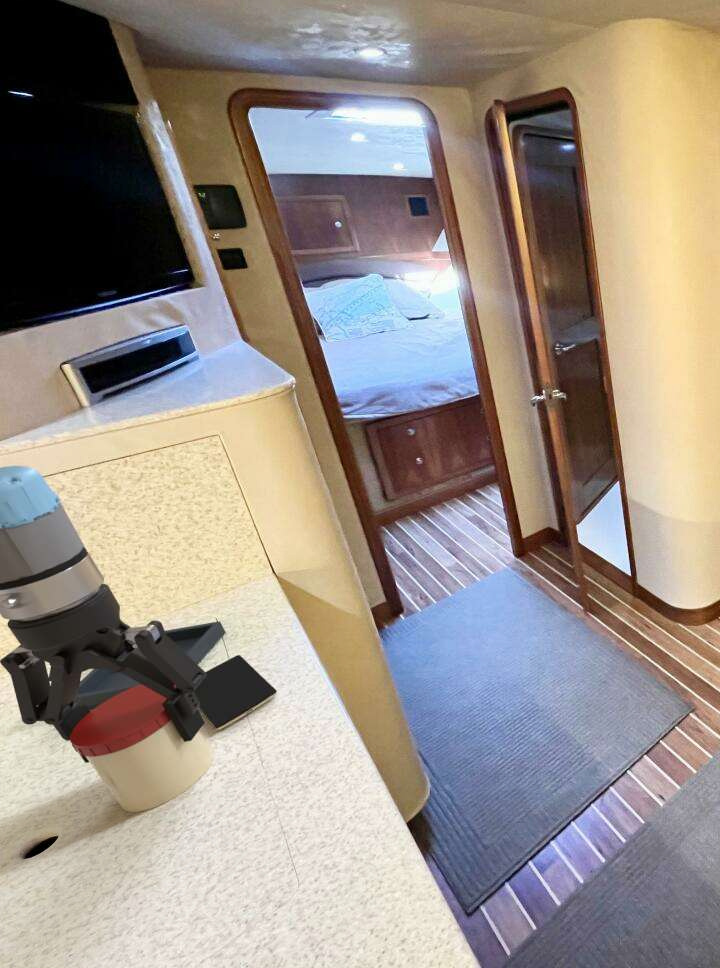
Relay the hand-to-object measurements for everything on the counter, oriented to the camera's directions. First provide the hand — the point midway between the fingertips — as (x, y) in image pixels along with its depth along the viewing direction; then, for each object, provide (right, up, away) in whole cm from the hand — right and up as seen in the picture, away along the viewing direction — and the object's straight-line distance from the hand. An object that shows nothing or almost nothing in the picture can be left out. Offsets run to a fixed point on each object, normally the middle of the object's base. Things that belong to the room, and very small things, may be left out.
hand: (147, 741), depth 68 cm
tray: (-21, 0, +20) cm, 29 cm away
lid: (0, +5, -2) cm, 5 cm away
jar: (0, -6, +2) cm, 6 cm away
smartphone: (-3, -1, +15) cm, 15 cm away
